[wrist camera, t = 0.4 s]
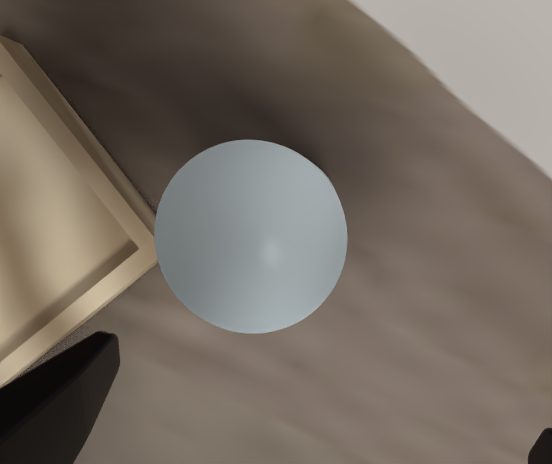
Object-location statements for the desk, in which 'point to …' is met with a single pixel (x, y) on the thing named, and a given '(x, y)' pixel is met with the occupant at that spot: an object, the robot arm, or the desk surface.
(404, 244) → the desk surface
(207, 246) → the white rounded cylinder
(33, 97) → the tray
